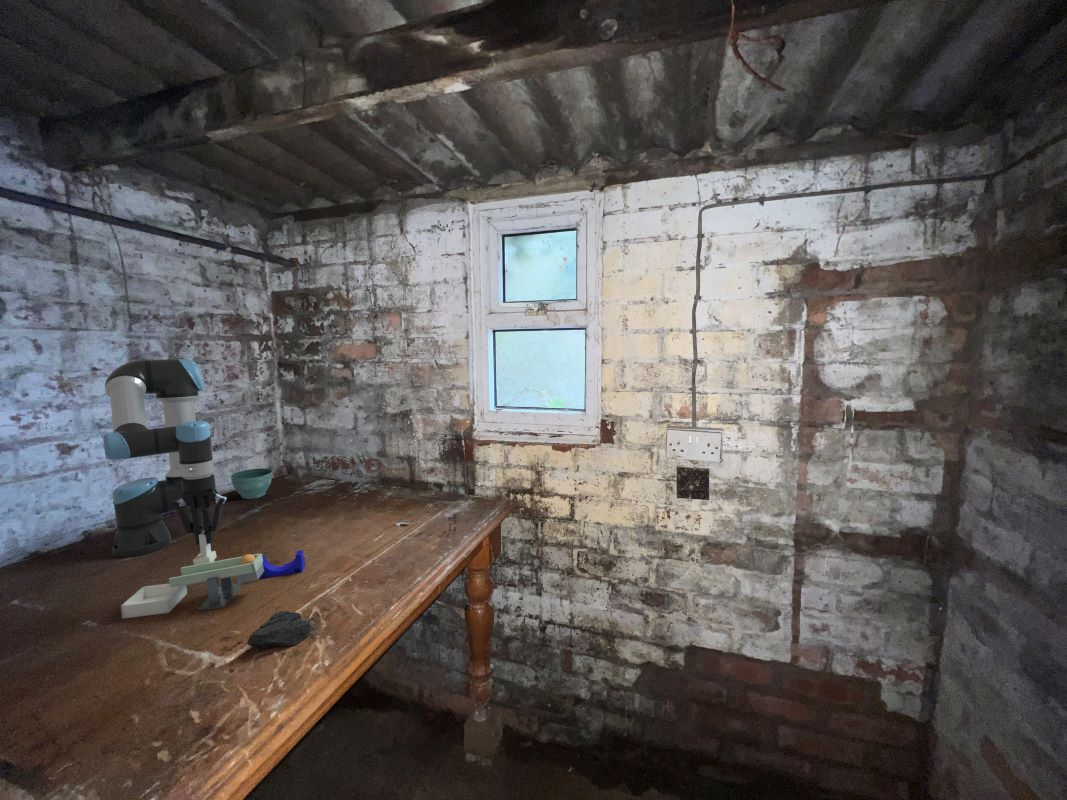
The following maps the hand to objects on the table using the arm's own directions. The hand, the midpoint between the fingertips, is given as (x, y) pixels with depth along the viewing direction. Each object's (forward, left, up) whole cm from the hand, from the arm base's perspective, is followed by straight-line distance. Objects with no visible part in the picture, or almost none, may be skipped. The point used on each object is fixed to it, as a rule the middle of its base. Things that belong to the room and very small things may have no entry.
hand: (206, 554), depth 125 cm
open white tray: (-9, -9, -9) cm, 15 cm away
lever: (+7, -5, -5) cm, 10 cm away
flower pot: (-15, +80, -9) cm, 82 cm away
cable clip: (+19, +2, -10) cm, 21 cm away
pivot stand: (+7, -9, -9) cm, 14 cm away
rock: (+28, -32, -10) cm, 44 cm away
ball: (+14, -9, +1) cm, 17 cm away
